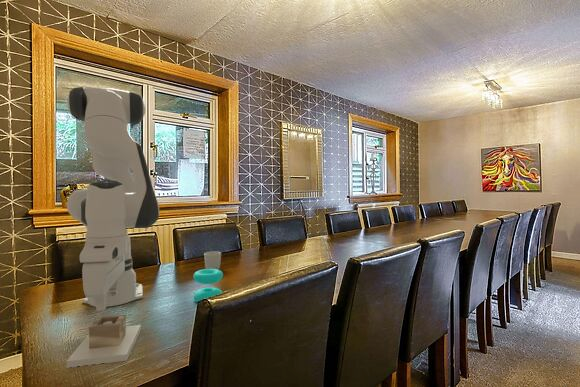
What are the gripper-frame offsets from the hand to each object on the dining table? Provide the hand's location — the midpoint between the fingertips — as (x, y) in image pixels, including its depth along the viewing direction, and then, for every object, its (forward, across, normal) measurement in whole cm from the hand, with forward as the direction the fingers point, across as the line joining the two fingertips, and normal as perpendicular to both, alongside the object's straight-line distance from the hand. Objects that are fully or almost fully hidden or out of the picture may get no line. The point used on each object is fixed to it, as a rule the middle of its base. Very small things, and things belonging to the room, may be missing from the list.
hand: (107, 302), depth 80 cm
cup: (+12, -70, +26) cm, 76 cm away
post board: (+11, +1, 0) cm, 11 cm away
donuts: (+12, -27, +24) cm, 38 cm away
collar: (+9, +1, 0) cm, 9 cm away
